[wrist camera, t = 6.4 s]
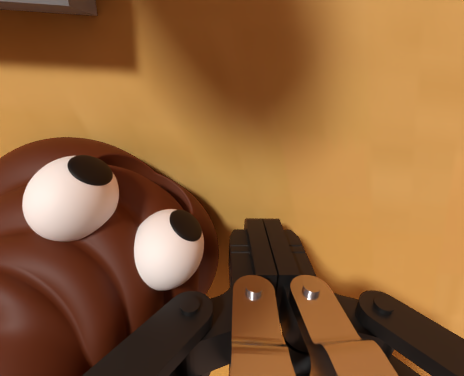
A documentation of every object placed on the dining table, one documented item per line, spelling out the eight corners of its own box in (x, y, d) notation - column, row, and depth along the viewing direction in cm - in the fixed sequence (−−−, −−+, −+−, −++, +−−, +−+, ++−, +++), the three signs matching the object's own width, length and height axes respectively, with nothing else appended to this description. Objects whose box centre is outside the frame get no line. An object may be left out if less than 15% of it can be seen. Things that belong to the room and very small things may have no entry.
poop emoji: (-22, 233, 13) (-483, 572, 4) (50, 76, 10) (-782, 166, 2) (164, 316, 16) (103, 614, 7) (258, 212, 13) (333, 492, 5)
